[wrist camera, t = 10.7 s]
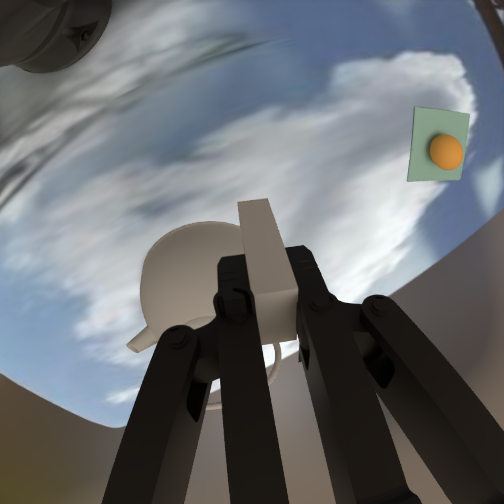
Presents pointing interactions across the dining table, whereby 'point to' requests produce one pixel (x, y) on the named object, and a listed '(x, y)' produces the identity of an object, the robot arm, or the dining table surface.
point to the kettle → (186, 282)
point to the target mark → (424, 132)
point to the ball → (446, 152)
